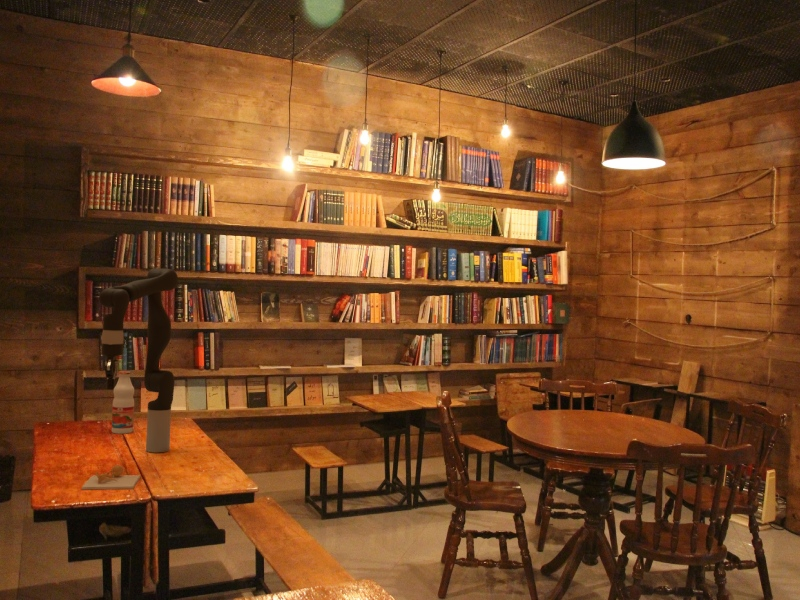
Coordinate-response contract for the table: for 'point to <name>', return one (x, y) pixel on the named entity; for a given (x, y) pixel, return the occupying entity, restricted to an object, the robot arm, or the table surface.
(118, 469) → the figurine
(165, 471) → the table surface
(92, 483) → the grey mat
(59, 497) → the table surface
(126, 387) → the fruit juice
